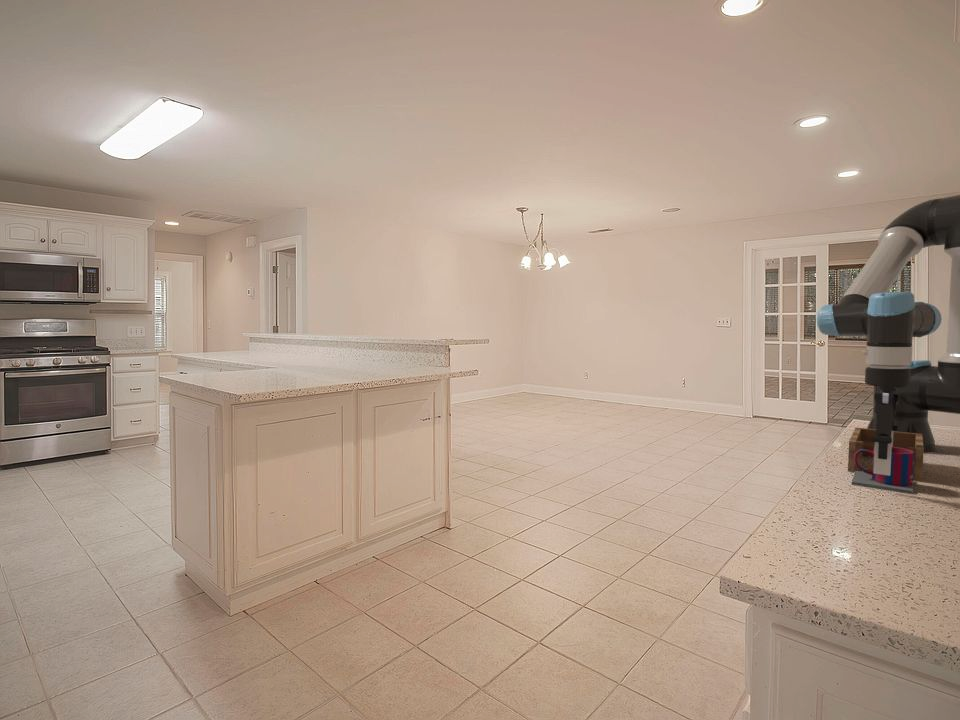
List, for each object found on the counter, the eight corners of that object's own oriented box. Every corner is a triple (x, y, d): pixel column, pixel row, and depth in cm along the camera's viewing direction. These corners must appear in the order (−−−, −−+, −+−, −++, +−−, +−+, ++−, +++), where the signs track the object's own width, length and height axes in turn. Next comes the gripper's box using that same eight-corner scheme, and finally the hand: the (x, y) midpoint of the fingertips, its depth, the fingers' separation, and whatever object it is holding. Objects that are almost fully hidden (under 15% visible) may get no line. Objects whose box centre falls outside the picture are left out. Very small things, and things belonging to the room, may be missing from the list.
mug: (913, 488, 105) (915, 455, 105) (852, 479, 112) (853, 448, 111) (911, 480, 111) (913, 448, 110) (853, 472, 117) (855, 442, 116)
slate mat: (855, 473, 118) (855, 470, 118) (912, 481, 112) (912, 478, 112) (851, 484, 110) (851, 481, 110) (912, 493, 104) (913, 491, 104)
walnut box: (854, 454, 134) (855, 427, 134) (920, 462, 126) (922, 433, 125) (847, 471, 120) (849, 441, 119) (922, 481, 112) (923, 449, 111)
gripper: (869, 361, 121) (865, 451, 123) (861, 370, 102) (856, 477, 104) (911, 363, 116) (906, 456, 118) (911, 372, 97) (905, 484, 99)
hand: (883, 466), depth 111 cm, fingers open, 13 cm apart
